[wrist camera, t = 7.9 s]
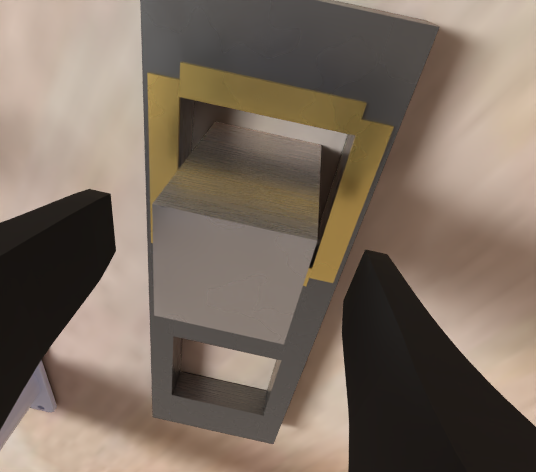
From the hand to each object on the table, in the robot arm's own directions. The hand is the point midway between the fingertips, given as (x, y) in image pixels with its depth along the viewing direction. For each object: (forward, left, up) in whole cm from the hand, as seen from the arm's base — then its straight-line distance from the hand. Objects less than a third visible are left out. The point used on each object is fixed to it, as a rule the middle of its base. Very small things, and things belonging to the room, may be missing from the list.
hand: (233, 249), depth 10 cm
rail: (0, -6, -5) cm, 8 cm away
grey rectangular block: (0, 0, -5) cm, 5 cm away
